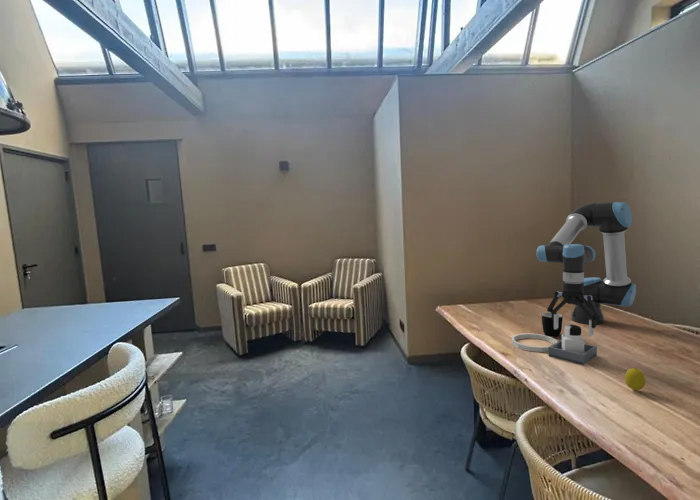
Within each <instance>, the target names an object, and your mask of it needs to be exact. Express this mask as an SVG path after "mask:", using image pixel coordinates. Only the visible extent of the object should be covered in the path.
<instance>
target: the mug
mask: <svg viewBox="0 0 700 500" xmlns="http://www.w3.org/2000/svg"><path fill="white" fill-rule="evenodd" d="M541 327H542V331H543V335H545V336H550V337H552V338H558V337H560V335H561V332H562V328H563V315H562V313H561V314H560V313H558V328H557V329H554V321H552V314H551V312H543V313H541Z"/></svg>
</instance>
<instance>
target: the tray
mask: <svg viewBox="0 0 700 500" xmlns="http://www.w3.org/2000/svg"><path fill="white" fill-rule="evenodd" d="M557 341H558V340H557ZM549 346H550V347H549V351H548V357H550V358H554V359H558V360H562V361H566V362H570V363H574V364H578V365H581V366H582V365H583V366H585V365H587V364H588V363H589V362H591V361H592V360H593V359H595V358H596V357H598V356H597V355H598V346H597V345H591V344H586V343H584V354H579V353H575V352H571V351H566V350H562V339H560V340H559V341H558V342H557V343H555V344H553V343H552V345H549Z"/></svg>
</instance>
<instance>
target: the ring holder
mask: <svg viewBox="0 0 700 500" xmlns="http://www.w3.org/2000/svg"><path fill="white" fill-rule="evenodd" d="M521 339H522V340H523V339H534V340H535V339H536V340H537V339H538V340H543V341H547V342H549V343H552V345H553V344H555V343H557V342H558V339H556V338H555V337H550V336H546V335H545V334H541V333H540V334H539V333H528V332H527V333H517V334H514V335H512V336H511V345H512V346H513V347H516V349H517V348H518V349H519V350H524V351H528V352H534V353H535V352H536V353H547V352H548V353H549V347H550V346H551V345H546V346H537V345H529V344H528V345H527V344H524V343H520V342H518V340H521Z"/></svg>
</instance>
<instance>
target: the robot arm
mask: <svg viewBox="0 0 700 500" xmlns="http://www.w3.org/2000/svg"><path fill="white" fill-rule="evenodd" d="M632 223H633V214H632V210H631V207H630V206H629V204H628V203H626V202H625V201H624V202H623V201H622V202H618V201H609V202H596V203H595V202H592V203H586V204H584V205H581V206H580V207H578V208H576V209H575V210H573V211H571V213H569V215H568V216H567V217H566V219H565V223H564V224H563V225H562V226H561V228H560V229H559V230H558V231H557V232H556V234H555V235H554V236H553V237H552V239H551V240H550V242H549V243H547V245H546V244H544V245H543V244H542V245H539V246H538V247H537V249H536V252H535V253H536V259H537V260H538V261H539V262H542V263H544V262H545V263H557V264H559V263H560V264H562V281H563V282H562V292H561V291H560V290H557V291H555V292H554V296H553V298H552V300H551V302H550V303H549V305H548V307H547V309H546V311H547V313H551V314H552V321H554V329H557V328H558V314H559V313H558V311H559V310H561V308H562V307H564V306H565V305H566V304H569V305H574V308H573V310H572V313H571V317H570V318H571V320H572V321H573V322H576V323H580V324H585V325H586V324H587V325H588V337H593V336H594V329H596V327H597V325H601V324H604V323H605V316H604V313H603V311H602V310H603V309H602V308H601V304H603V305H604V304H605V305H610V306H611V305H612V306H618V307H631V306H632V305H633V303H634V301H635V298H636V293H637V285H636V284H635V283H632V279H631V278H630V277H628V271H627V270H628V269H627V256H626V253H627V252H626V239H625V232H627V231H628V229H629V227H632ZM589 227H590V228H593V227H594V228H597V227H598V232H599V233H601V234H602V237H603V240H602V241H603V248H604V249H603V250H604V262H605V272H606V273H605V275H606V277H605V278H604V279H603V280H602V279H601V277H596V276H593V277H585V265H587V264H590V263H592V262H593V261H594V260H595V258H596V256H597V255H596V251H595V249H594V248H593V247H592V246H590V245H583V244H581V243H572V242H573V241H574V240H575V238H576V237H577V236H578V234H580V232H581V231H584V230H585V229H586V228H589ZM561 296H562V298H563V300H562V301H561V302H559V304H558V305H556V304H557V302H558V301H559V299H560V297H561ZM555 305H556V307H555ZM554 307H555V308H554Z"/></svg>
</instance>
